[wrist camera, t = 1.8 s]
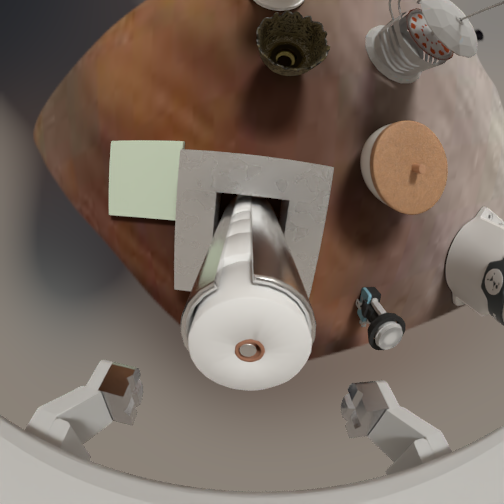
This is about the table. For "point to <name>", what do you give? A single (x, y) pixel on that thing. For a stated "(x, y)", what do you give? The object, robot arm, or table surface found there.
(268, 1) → the vase
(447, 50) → the french press
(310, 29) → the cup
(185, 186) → the bore block
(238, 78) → the table surface
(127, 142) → the pad
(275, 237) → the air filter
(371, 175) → the lidded jar
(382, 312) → the push button
